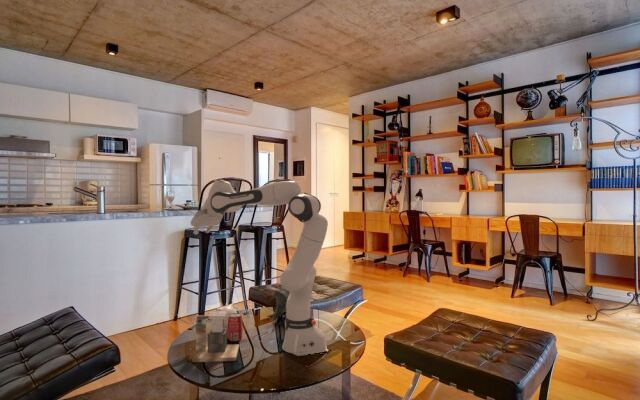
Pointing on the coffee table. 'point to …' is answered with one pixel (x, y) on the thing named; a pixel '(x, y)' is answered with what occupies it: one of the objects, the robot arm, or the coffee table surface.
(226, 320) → the cat head
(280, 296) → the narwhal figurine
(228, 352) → the stand
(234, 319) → the soda can
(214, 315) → the boxy square bracket
